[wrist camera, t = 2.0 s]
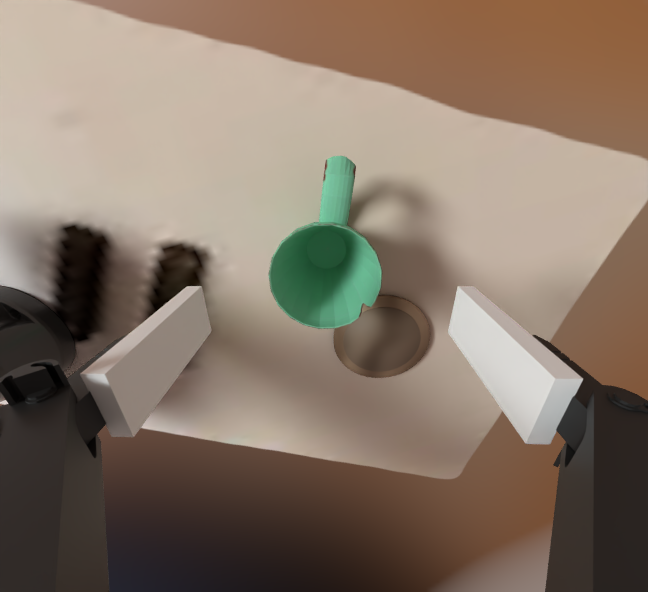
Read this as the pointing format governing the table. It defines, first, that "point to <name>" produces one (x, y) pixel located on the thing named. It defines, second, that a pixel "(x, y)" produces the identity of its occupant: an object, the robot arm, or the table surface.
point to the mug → (327, 260)
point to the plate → (383, 338)
